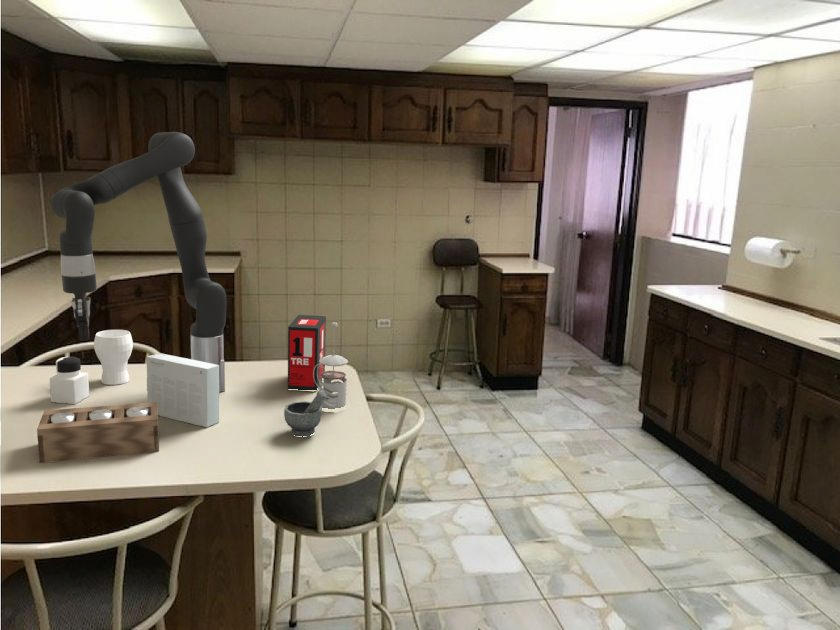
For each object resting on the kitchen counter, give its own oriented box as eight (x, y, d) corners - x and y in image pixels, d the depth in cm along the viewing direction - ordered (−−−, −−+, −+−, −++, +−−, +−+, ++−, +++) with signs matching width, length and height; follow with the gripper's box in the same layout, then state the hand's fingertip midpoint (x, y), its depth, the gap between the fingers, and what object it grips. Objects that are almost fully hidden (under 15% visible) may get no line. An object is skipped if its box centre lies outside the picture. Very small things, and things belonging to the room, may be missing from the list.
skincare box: (221, 421, 181) (220, 364, 178) (207, 428, 176) (205, 369, 173) (161, 406, 190) (159, 351, 186) (146, 412, 185) (144, 356, 181)
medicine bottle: (89, 396, 195) (87, 355, 192) (75, 404, 188) (72, 363, 185) (66, 394, 195) (63, 353, 193) (50, 402, 188) (47, 361, 186)
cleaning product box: (297, 373, 224) (298, 314, 220) (324, 375, 224) (325, 316, 220) (287, 390, 208) (288, 326, 204) (316, 391, 208) (317, 328, 204)
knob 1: (76, 431, 162) (75, 411, 161) (74, 439, 158) (73, 418, 156) (53, 433, 160) (52, 413, 159) (51, 441, 156) (49, 420, 155)
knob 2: (148, 425, 168) (148, 405, 167) (148, 432, 163) (148, 412, 162) (127, 427, 166) (126, 407, 165) (127, 434, 162) (126, 414, 161)
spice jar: (113, 428, 165) (112, 408, 164) (112, 435, 160) (111, 415, 159) (91, 430, 163) (90, 410, 162) (89, 437, 159) (88, 417, 158)
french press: (334, 415, 190) (337, 328, 184) (303, 405, 196) (304, 321, 190) (356, 405, 198) (359, 322, 192) (325, 397, 204) (327, 315, 198)
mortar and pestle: (277, 437, 173) (277, 392, 171) (292, 424, 182) (293, 381, 180) (319, 443, 171) (320, 397, 168) (332, 429, 180) (333, 386, 177)
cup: (109, 374, 214) (106, 328, 211) (141, 377, 213) (139, 330, 209) (88, 384, 204) (85, 336, 200) (121, 388, 202) (119, 339, 199)
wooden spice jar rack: (158, 431, 173) (157, 402, 171) (159, 451, 162) (157, 419, 160) (46, 442, 163) (44, 410, 162) (39, 463, 152) (36, 429, 151)
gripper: (94, 276, 164) (100, 345, 168) (96, 267, 175) (101, 332, 180) (59, 277, 161) (65, 348, 165) (63, 268, 173) (69, 334, 177)
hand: (84, 339), depth 172 cm, fingers closed
